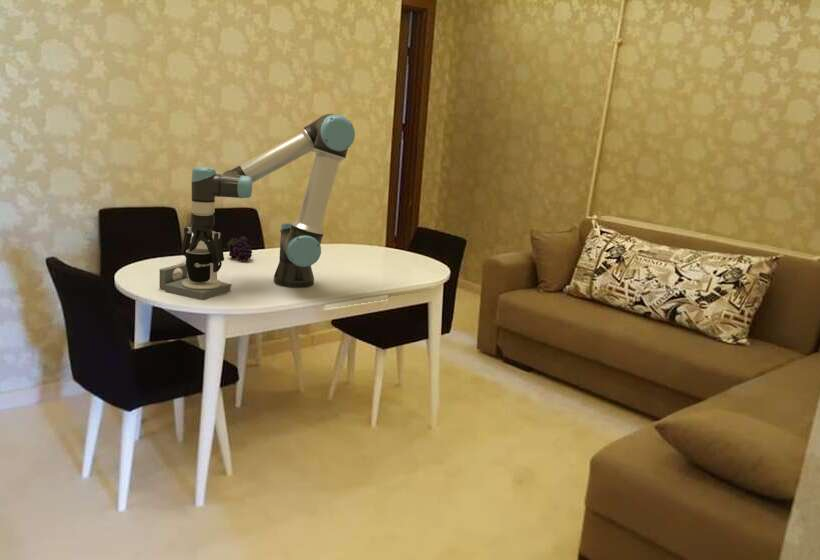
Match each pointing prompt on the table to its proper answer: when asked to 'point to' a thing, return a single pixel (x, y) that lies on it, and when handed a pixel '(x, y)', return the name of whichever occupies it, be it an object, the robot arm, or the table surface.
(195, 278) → the mug
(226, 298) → the table surface
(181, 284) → the scale
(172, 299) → the table surface
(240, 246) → the fruit
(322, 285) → the table surface
